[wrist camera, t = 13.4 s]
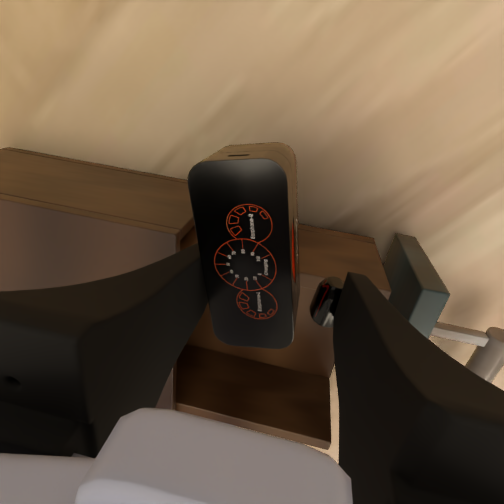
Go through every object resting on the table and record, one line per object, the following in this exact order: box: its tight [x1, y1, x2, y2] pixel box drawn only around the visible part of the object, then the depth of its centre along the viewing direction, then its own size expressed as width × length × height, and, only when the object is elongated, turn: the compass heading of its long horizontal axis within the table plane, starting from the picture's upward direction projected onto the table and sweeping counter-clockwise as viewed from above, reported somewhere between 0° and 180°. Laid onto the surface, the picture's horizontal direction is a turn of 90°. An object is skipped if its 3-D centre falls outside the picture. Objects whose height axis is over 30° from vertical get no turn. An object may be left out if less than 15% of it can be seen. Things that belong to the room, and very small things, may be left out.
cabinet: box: [0, 147, 195, 412], centre depth 22 cm, size 15×14×8 cm
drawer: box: [175, 224, 504, 450], centre depth 20 cm, size 20×13×6 cm, turn 83°
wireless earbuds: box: [188, 142, 344, 349], centre depth 11 cm, size 5×7×3 cm, turn 5°
